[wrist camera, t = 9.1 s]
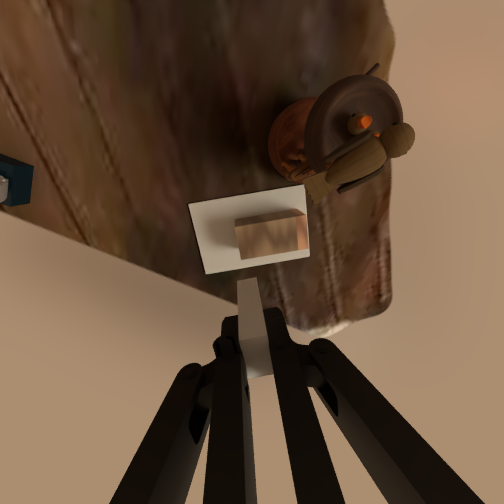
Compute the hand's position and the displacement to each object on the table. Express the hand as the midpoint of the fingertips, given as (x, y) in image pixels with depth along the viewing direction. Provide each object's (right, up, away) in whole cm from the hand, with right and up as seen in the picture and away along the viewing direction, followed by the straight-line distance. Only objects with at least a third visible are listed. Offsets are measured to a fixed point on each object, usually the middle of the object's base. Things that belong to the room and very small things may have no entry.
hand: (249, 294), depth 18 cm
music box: (+8, +20, +16) cm, 26 cm away
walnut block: (-2, +5, +17) cm, 18 cm away
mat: (0, +7, +20) cm, 21 cm away
